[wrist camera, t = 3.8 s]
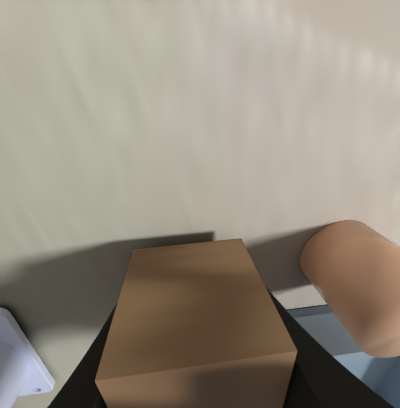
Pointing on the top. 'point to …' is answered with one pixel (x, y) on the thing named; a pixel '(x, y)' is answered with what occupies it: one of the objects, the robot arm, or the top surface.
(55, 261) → the top surface
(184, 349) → the walnut block
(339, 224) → the peach rounded part
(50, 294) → the top surface
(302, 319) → the tote
